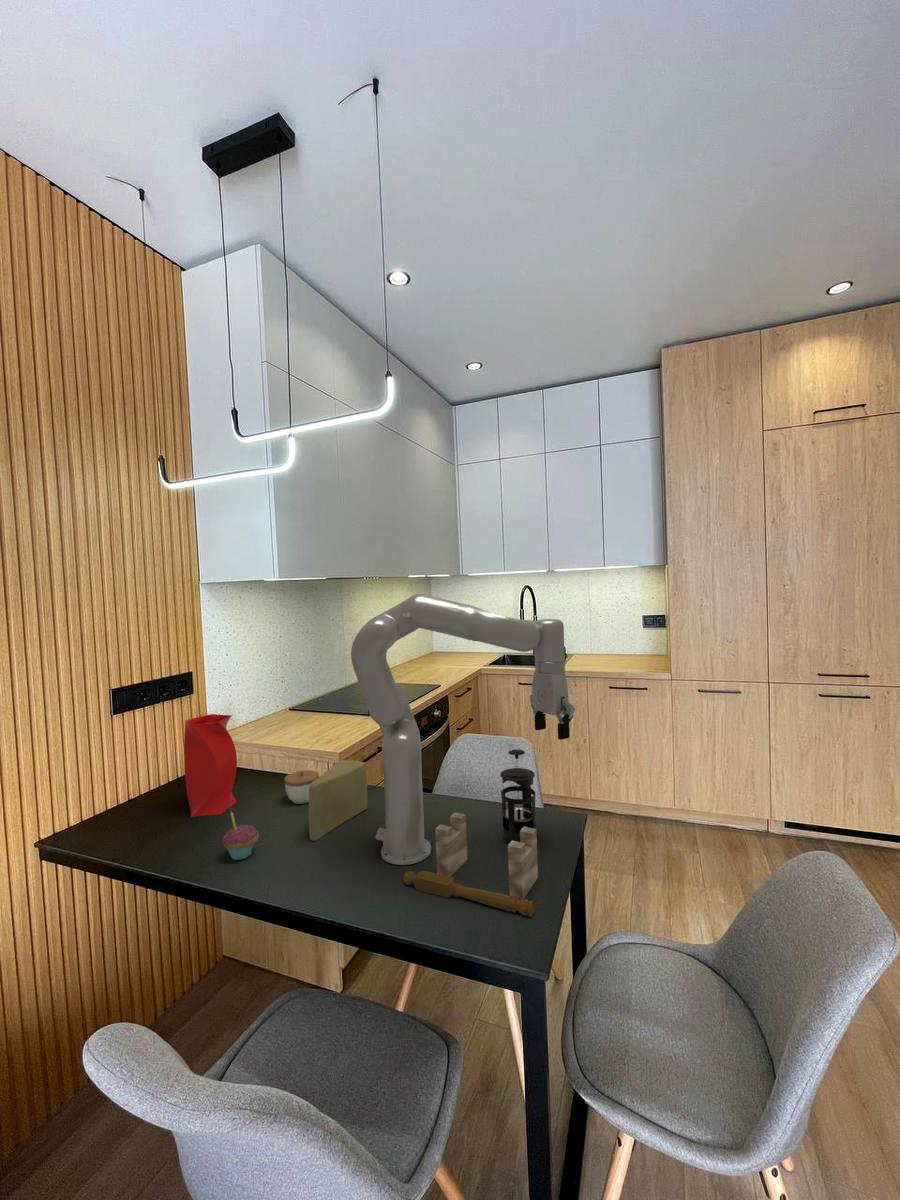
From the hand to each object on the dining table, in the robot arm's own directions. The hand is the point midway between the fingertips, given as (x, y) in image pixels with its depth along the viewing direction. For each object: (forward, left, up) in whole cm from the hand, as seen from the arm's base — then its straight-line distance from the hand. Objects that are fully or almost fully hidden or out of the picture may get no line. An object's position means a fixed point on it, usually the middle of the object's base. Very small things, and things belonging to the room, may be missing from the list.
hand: (551, 733), depth 130 cm
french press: (-9, -2, -28) cm, 29 cm away
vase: (-104, -25, -28) cm, 111 cm away
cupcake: (-70, -40, -28) cm, 86 cm away
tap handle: (-10, -31, -28) cm, 43 cm away
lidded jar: (-81, -8, -28) cm, 86 cm away
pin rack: (-9, -22, -28) cm, 37 cm away
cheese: (-60, -16, -28) cm, 68 cm away
